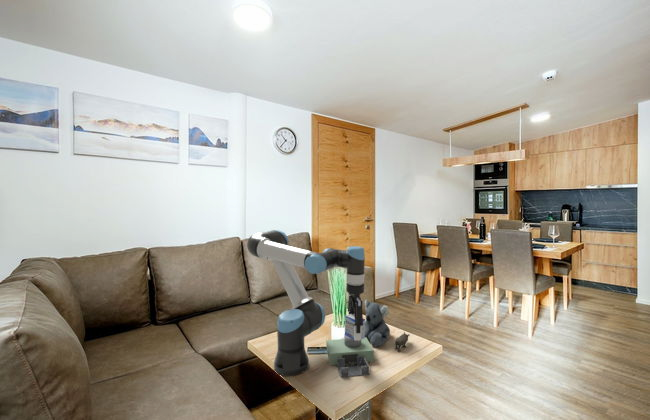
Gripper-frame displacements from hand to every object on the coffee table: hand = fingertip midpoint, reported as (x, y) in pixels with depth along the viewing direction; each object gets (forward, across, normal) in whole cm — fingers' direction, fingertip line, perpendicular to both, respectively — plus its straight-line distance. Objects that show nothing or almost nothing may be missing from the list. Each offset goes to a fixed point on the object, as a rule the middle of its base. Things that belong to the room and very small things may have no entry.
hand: (354, 334), depth 128 cm
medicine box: (+1, 0, 0) cm, 1 cm away
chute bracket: (+15, -2, +1) cm, 15 cm away
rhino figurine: (+15, +14, -29) cm, 35 cm away
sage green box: (+15, +10, 0) cm, 18 cm away
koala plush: (+15, +26, -18) cm, 35 cm away
